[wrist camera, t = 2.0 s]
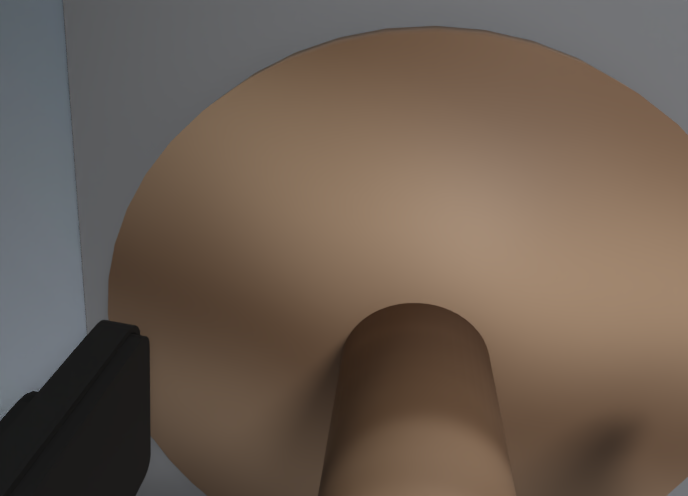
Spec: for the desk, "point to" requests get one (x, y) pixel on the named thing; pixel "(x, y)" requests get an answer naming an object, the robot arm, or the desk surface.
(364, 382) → the lid
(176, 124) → the mat
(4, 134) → the desk surface
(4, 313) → the desk surface
